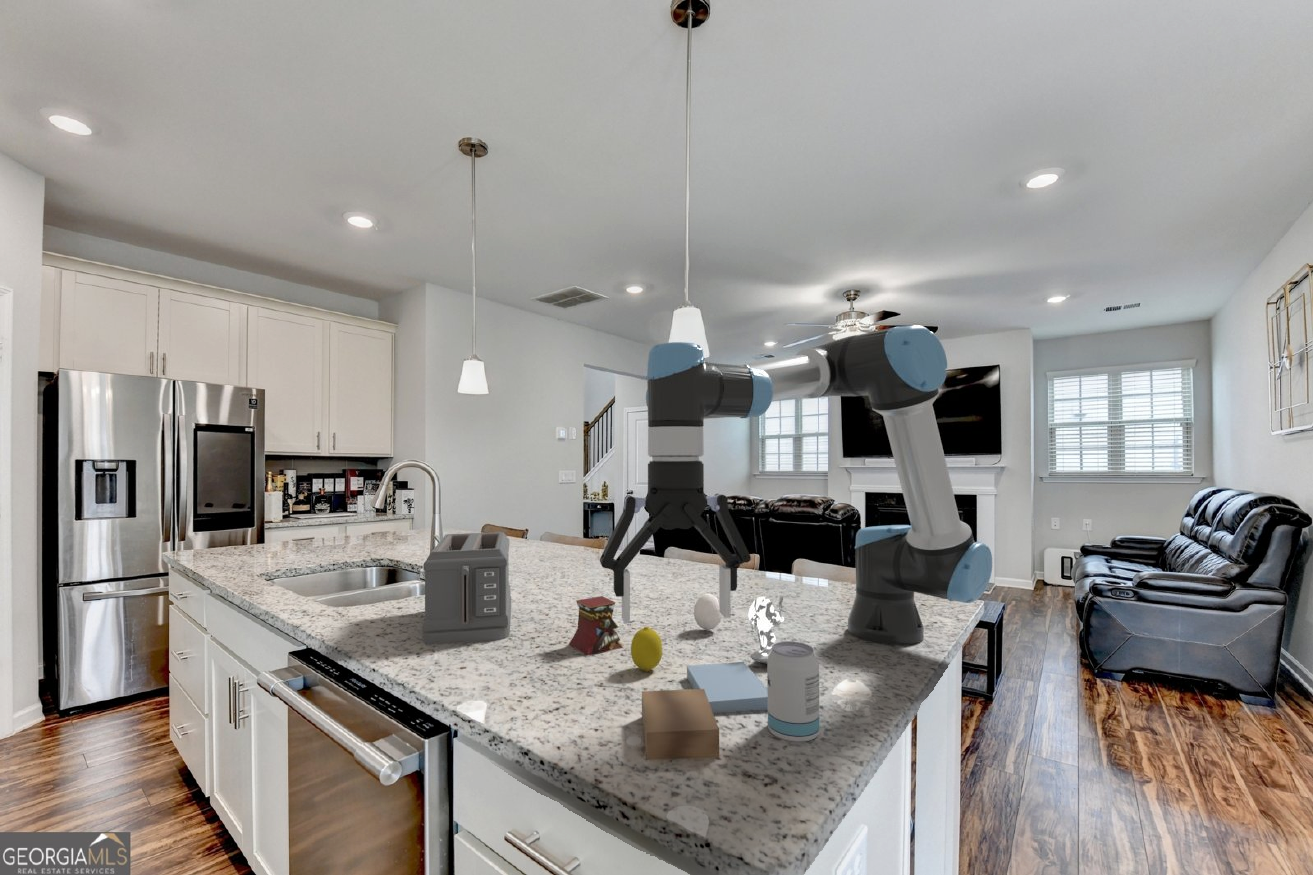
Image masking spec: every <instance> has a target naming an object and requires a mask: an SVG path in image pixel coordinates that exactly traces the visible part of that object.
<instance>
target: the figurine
mask: <svg viewBox="0 0 1313 875" xmlns="http://www.w3.org/2000/svg"><path fill="white" fill-rule="evenodd" d="M783 601H784V596H783V595H780V597H779V599H778V604H777V610H775V607H774V606H773V601H771V600H770V599H769V598H768V596H767V597H766V596H761V597H756V598H755V599H754V600H753V603H752V604H751V605H750V607H749V610H748V620H749V621H750V626H751V627H750V628H751V631H752V633H753V632H755V633H756V634H757V637H758V642H761V643H760V645H759V648H758V649H757V650H755V651H754V652H752V653H751V654H750V659H751V660H753V661H755V662H756V661H757V662H758V663H761V664H765V665H767V659H768V656H769V655H770V653H771V651H772V646H773V645H774V644H776V643H777V642H776V643H775V641H776V640H777V638H776V635H775V634H774V631H773V630H772V627H773V628H776V627H778V629H780V625H781V624H782V623H783V622H784V621H785V618H784V616H782V615H781V614H782V613H785V611H784V610H783V608H785V606H783ZM774 610H775V611H774ZM781 612H782V613H781ZM753 627H754V628H753ZM753 630H754V631H753Z"/></svg>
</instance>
